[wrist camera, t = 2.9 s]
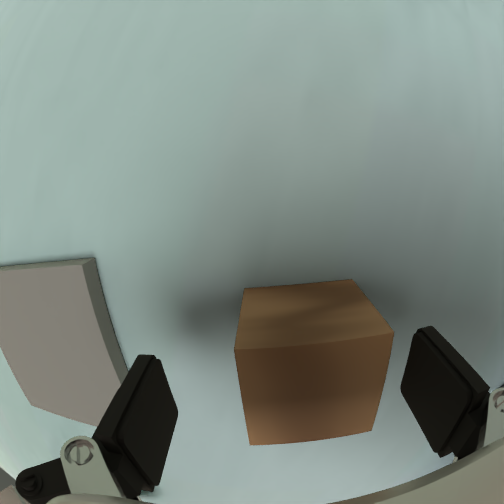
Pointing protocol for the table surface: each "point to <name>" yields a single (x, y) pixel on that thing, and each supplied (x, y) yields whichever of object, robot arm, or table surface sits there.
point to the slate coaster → (60, 338)
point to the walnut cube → (310, 361)
